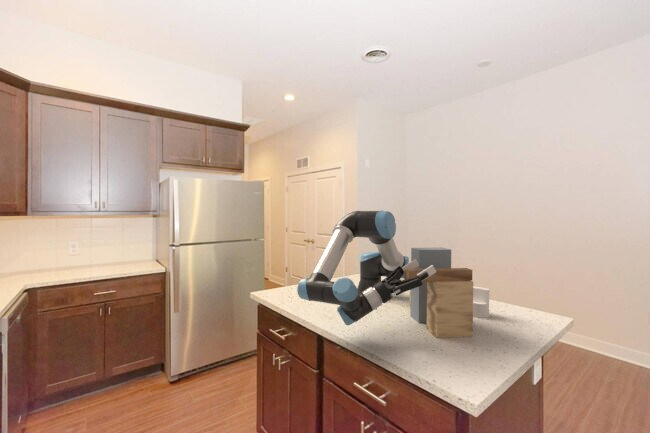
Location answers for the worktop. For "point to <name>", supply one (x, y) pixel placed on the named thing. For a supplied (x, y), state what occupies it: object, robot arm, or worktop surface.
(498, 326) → the worktop surface
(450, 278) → the walnut block
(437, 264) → the slate-grey stand
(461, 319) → the oak block
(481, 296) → the cylinder with rectangular tab
